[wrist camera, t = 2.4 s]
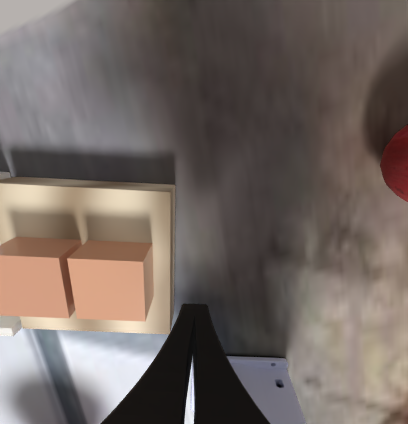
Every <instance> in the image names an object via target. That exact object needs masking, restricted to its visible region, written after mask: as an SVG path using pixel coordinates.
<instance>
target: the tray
mask: <svg viewBox="0 0 408 424" xmlns="http://www.w3.org/2000/svg"><path fill="white" fill-rule="evenodd" d="M6 178H11V176H10V172H0V180H1V179H6ZM0 245H1V244H0ZM21 328H22V324H21V320H20V316H0V336H14V335H15V334H16V333H17V332H18V331H19V330H20V329H21Z"/></svg>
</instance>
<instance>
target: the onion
mask: <svg viewBox="0 0 408 424" xmlns="http://www.w3.org/2000/svg"><path fill="white" fill-rule="evenodd" d="M380 167H381V171H382V175H383V178H384V181H385V183H386V185H387V186H388V187H389V188H390V189H391V190H392V191H393V192H394V193H395V194H396V195H397V196H399V197H400V198H402V199H403V200H405V201H407V202H408V125H406V126H405V127H404V128H402V129H401V130H400V131H398V132H397V133H396V134H395V135H394V136H393V138H392V139H391V140H390V142H389V143H388V144H387V146H386V147H385V149H384V152H383V156H382V160H381V164H380Z"/></svg>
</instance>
